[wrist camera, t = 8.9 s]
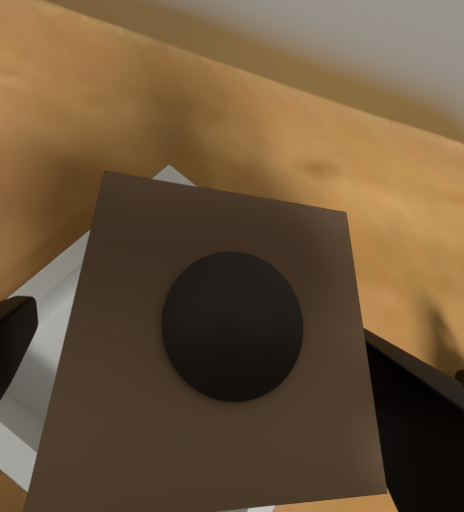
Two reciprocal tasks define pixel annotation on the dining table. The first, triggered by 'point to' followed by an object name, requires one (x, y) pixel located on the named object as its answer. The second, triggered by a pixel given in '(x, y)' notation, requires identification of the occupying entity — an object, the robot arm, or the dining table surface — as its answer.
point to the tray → (48, 358)
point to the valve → (460, 376)
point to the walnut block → (209, 359)
